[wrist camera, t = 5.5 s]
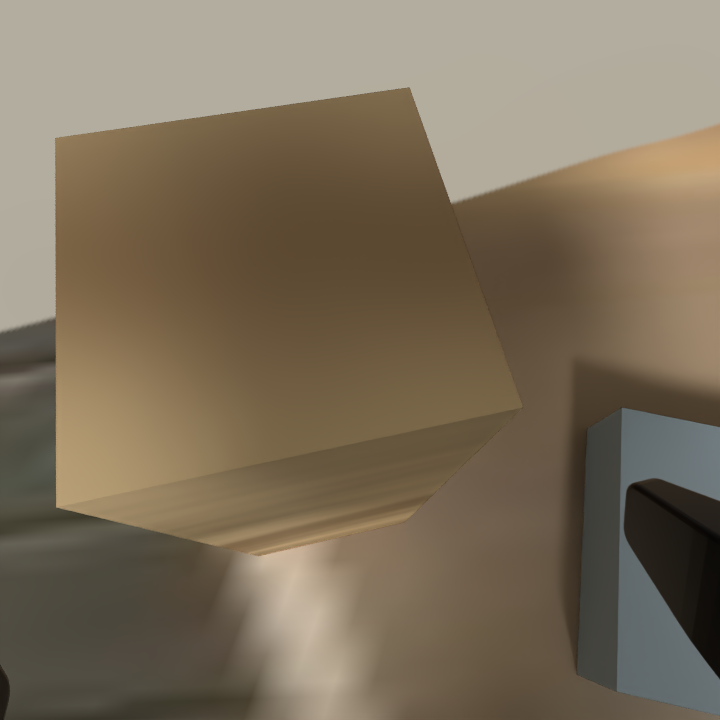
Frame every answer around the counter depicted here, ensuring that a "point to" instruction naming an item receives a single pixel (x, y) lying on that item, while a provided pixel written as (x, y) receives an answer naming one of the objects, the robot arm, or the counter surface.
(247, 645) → the counter surface
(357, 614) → the counter surface
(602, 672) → the slate base block
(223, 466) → the oak pillar
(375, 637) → the counter surface
